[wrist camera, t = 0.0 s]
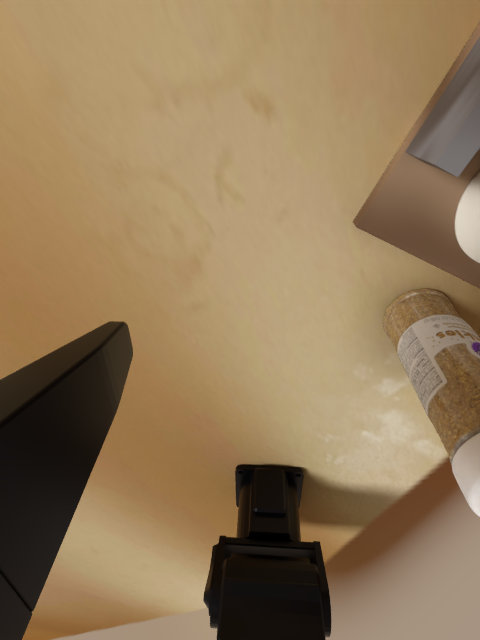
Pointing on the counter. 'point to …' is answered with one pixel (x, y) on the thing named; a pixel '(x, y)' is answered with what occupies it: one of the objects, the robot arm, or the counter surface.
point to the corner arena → (437, 178)
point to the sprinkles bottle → (442, 376)
